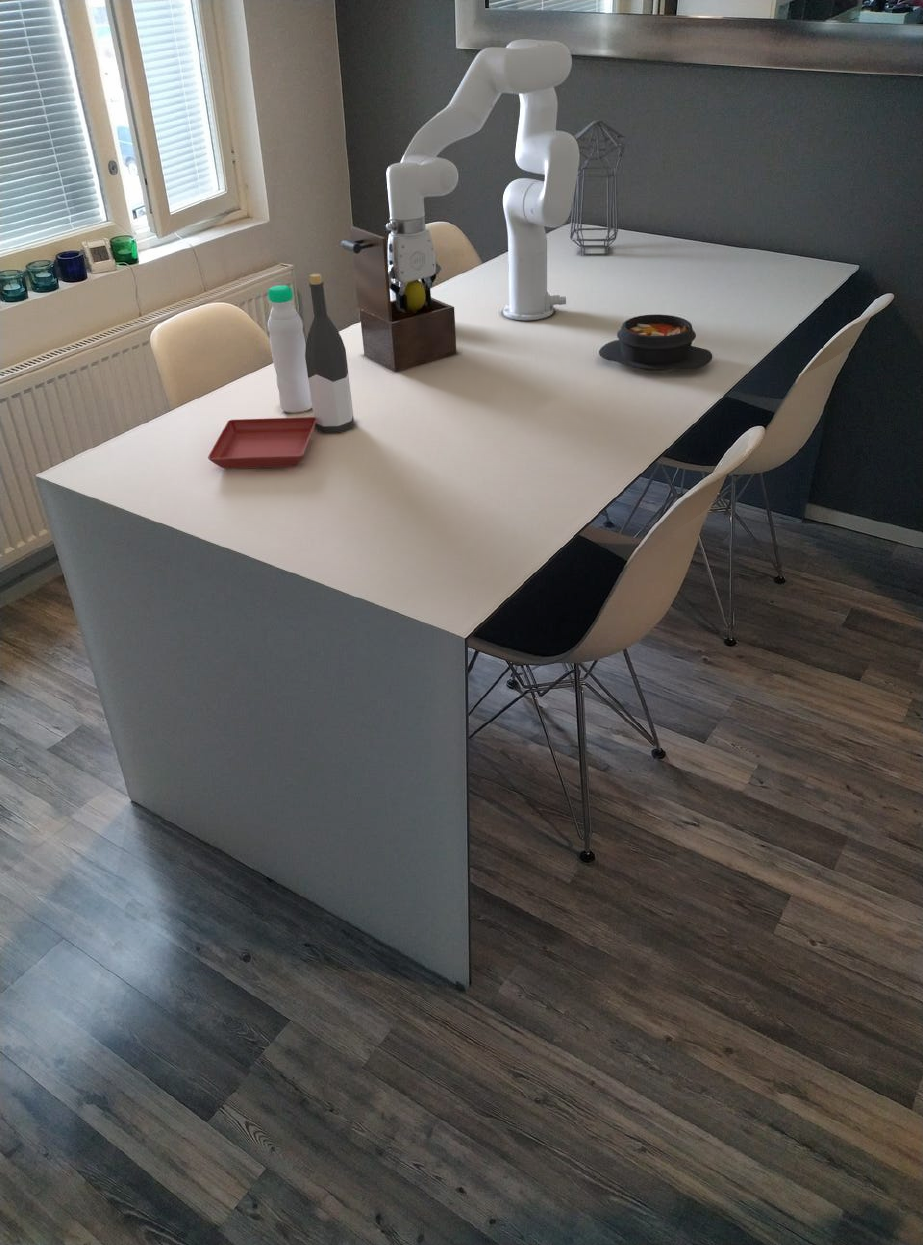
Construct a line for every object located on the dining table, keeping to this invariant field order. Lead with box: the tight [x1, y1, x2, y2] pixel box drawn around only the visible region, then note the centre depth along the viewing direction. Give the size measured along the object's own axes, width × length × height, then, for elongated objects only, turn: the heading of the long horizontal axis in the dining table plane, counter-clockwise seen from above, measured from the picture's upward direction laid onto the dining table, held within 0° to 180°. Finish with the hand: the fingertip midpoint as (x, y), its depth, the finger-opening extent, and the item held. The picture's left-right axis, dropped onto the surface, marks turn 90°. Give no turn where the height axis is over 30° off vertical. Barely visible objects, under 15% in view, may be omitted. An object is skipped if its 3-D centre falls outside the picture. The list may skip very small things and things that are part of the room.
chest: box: [358, 297, 458, 373], centre depth 232 cm, size 17×14×11 cm
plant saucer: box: [207, 416, 317, 469], centre depth 194 cm, size 18×18×3 cm
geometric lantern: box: [569, 119, 626, 256], centre depth 288 cm, size 16×16×35 cm
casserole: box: [598, 314, 713, 372], centre depth 221 cm, size 25×19×8 cm
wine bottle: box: [305, 273, 354, 434], centre depth 195 cm, size 8×8×30 cm
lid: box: [341, 225, 392, 322], centre depth 219 cm, size 18×14×6 cm
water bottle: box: [267, 284, 312, 414], centre depth 205 cm, size 7×7×25 cm
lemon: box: [404, 280, 426, 313], centre depth 228 cm, size 6×6×8 cm
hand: (414, 307), depth 230 cm, fingers closed on lemon, 5 cm apart
